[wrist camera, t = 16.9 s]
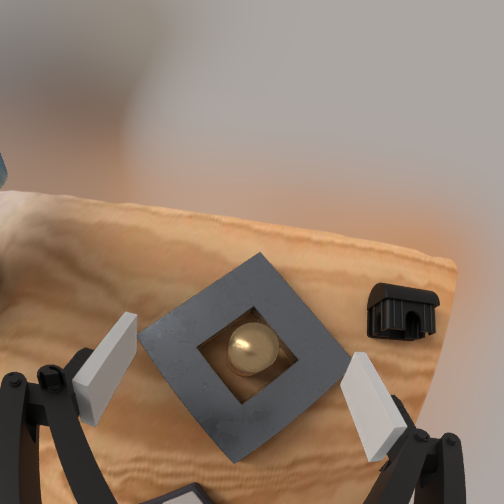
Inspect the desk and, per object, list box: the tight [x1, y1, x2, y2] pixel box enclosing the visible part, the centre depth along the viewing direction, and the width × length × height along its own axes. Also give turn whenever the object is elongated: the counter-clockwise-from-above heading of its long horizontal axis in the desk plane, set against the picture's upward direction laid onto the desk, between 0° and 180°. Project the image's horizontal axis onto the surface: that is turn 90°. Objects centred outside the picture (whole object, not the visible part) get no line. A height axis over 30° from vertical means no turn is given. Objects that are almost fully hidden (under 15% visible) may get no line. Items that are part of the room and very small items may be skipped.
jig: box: [137, 252, 352, 464], centre depth 36 cm, size 20×20×3 cm
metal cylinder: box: [227, 323, 279, 376], centre depth 33 cm, size 5×5×10 cm
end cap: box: [367, 283, 440, 341], centre depth 39 cm, size 10×7×7 cm
